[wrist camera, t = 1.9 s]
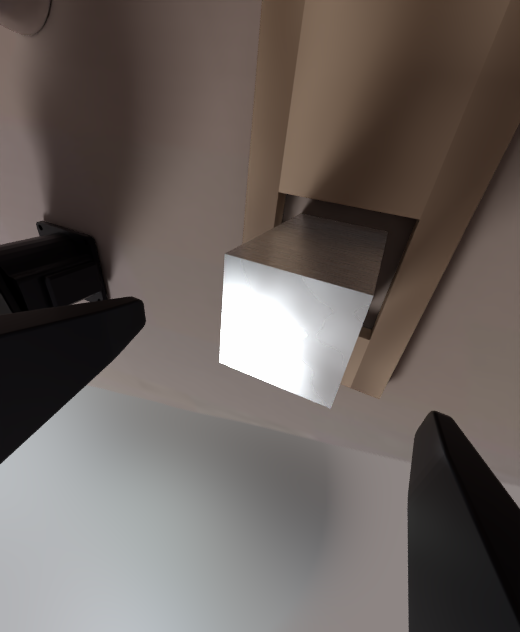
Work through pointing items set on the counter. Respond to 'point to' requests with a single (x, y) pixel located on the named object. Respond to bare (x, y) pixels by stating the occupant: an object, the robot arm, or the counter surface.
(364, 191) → the brown flat frame piece
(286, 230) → the square peg
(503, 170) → the counter surface
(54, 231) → the robot arm
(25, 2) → the beer glass
